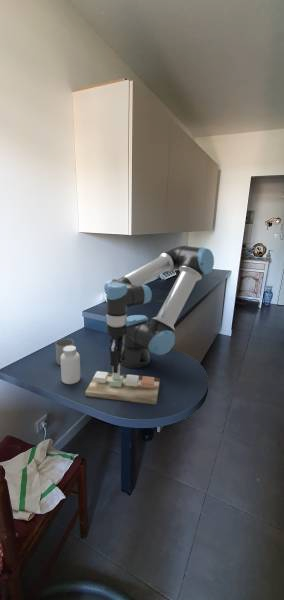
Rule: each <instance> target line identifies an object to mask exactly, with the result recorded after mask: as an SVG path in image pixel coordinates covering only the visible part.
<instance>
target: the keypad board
mask: <svg viewBox="0 0 284 600" xmlns="http://www.w3.org/2000/svg"><path fill="white" fill-rule="evenodd" d="M95 374H96V372H95ZM95 374H94V375H95ZM112 375H113V372H112V373H110V372H108V378H107V380H106V382H105V383H101V382H94V381H93V378H92V380H90V383H89V385H88V386H87V388H86V390H85V394H84V395H85V397H90V398H91V397H92V398H99V399H106V400H107V399H109V400H116V401H122V402H123V401H124V402H132V403H141V404H148V405H157V402H158V396H159V395H158V394H159V390H160V389H159V388H160V380H161V379H160V378H159V377H158V378H157V377H155V379H154V386H153V388H146V387H141V382H142V378H143V376H141V375H138V376H139V381H138V384H137V386H128V385H125V380H126V377H127V374H121V373H120V376H123V382H122V385H121V387H117V386H109V380H110V378H111V376H112Z"/></svg>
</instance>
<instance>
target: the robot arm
mask: <svg viewBox="0 0 284 600" xmlns="http://www.w3.org/2000/svg"><path fill="white" fill-rule="evenodd" d="M214 259H215V257H214V254H213V252H212V250H211V249H210V248H205V247H202V246H201V247H198V246H189V245H179V246H175V247H173V248H170V249H167V250H166V251H164V252H163V253H160V255H159V256H158V257H157V258H155V259H154V260H152V261H150V262H148V263H146V264H144V265H142V266H140V267H138V268H136V269H135V270H133V271H131V272H129V273H127V274H125V275H124V276H122V277H120V278H118V279H115V278H111V279H108V280H107V281H106V282H105V284H104V286H103V287H104V292H105V294H106V297H105V298H106V314H105V318H106V333H107V335H108V336H110V337H111V338H110V346H109V355H110V367H112V374H113V379H119V378H120V374H121V366H123V367H125V368H131V369H138V368H139V369H140V368H144V367H146V366H148V365H149V364H150V362H151V361H150V359H151V358H150V357H151V356H150V353H152V354H156V355H158V356H163V355H165V354H167V353H168V352H170V351H171V350H172V349H173V347H174V345H175V342H176V341H175V340H176V336H175V335H176V334H175V331H176V329H175V326H174V325H175V324H176V322H177V319H179V316H180V313H181V312H182V310H183V308H184V306H185V304H186V303H187V300H188V298H189V296H190V294H191V293H192V291H193V289H194V287H195V284H196V283H197V281H200V280H202V278H203V276H204V275H209V274H210V273H211V272H212V271H213V269H214V265H215V260H214ZM173 270H178V271H179V274H178V276H177V278H176V279H175V282H174V284H173V285H172V288H171V289H170V291H169V293H168V295H167V297H166V299H165V300H164V302H163V304H162V307H160V310H159V311H158V313H157V315H156V316H154V317H151V320H150V321H149V318H148V316H146V315H143V314H134V315H133V314H132V315H129V316H127V315H128V314H127V310H128V308H130V307H131V308H132V307H135V306H140V305H141V306H143V305H145V304H147V303H150V302H151V300H152V297H153V296H152V290H151V288H150V287H149V286H148V285H146V284H147V283H148V282H150V281H152V280H154V279H155V278H158V277H159V276H161V275H162V274H164V273H166V272H172V271H173ZM148 321H149V322H148ZM149 352H150V353H149Z"/></svg>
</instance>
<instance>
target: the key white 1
mask: <svg viewBox="0 0 284 600" xmlns="http://www.w3.org/2000/svg"><path fill="white" fill-rule="evenodd" d="M95 373H96V374H94V376H93V377H92V379H93V381H94V382H101V383H105V382H106V380H107V378H108V373H109V372H108V371H98V370H97V371H95Z"/></svg>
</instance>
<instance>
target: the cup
mask: <svg viewBox="0 0 284 600" xmlns="http://www.w3.org/2000/svg"><path fill="white" fill-rule="evenodd" d="M74 343H75V341H74V340H73V339H72V338H61V339H60V338H59V339H58V340H56V341H55V354H56V355H55V358H56V360H55V361H56V363H57V364H58V365H60V366H61V359H60V358H61V355H62V354H63V348H64V347H66V346H75V344H74Z"/></svg>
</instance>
